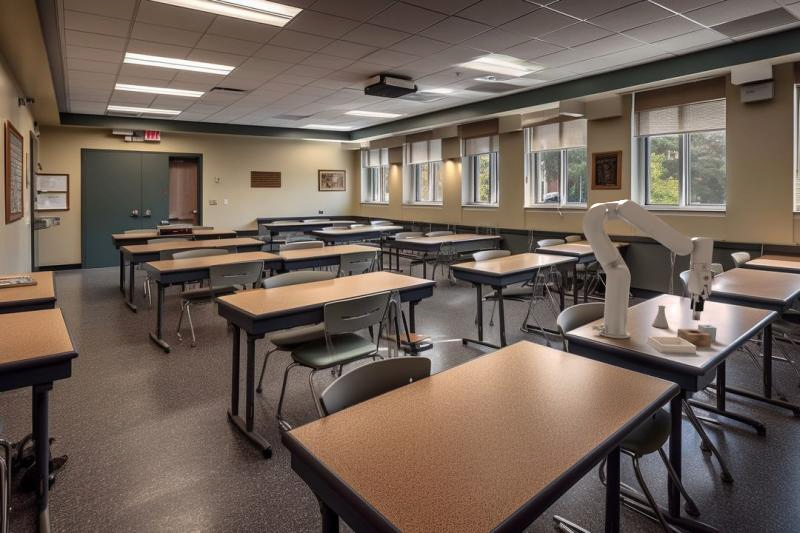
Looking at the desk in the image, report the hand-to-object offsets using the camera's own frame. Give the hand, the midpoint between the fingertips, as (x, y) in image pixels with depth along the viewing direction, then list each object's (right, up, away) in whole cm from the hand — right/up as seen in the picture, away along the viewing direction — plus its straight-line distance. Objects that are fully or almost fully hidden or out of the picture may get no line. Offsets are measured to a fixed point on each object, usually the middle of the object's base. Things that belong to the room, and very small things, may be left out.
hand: (696, 310), depth 202 cm
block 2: (+9, -14, +8) cm, 18 cm away
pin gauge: (0, -4, +1) cm, 4 cm away
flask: (+1, -11, +30) cm, 32 cm away
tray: (-14, -15, -5) cm, 21 cm away
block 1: (0, -14, +2) cm, 14 cm away
